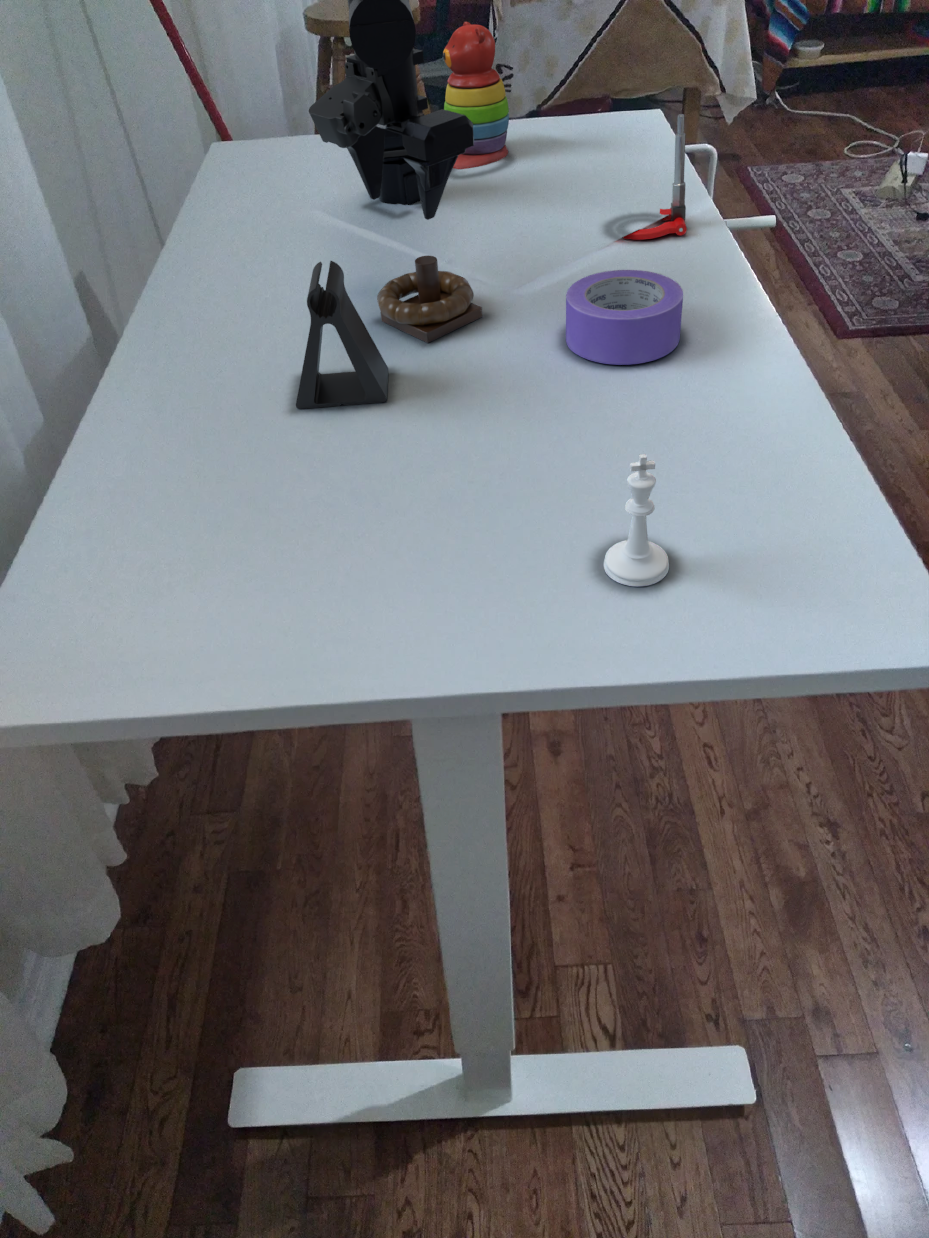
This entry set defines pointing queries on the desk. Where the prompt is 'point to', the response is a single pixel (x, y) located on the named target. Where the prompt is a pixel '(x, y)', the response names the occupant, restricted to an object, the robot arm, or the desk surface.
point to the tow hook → (678, 196)
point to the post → (431, 293)
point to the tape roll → (623, 316)
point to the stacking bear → (477, 94)
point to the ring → (426, 311)
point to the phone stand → (358, 344)
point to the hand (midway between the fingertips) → (401, 208)
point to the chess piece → (638, 535)
